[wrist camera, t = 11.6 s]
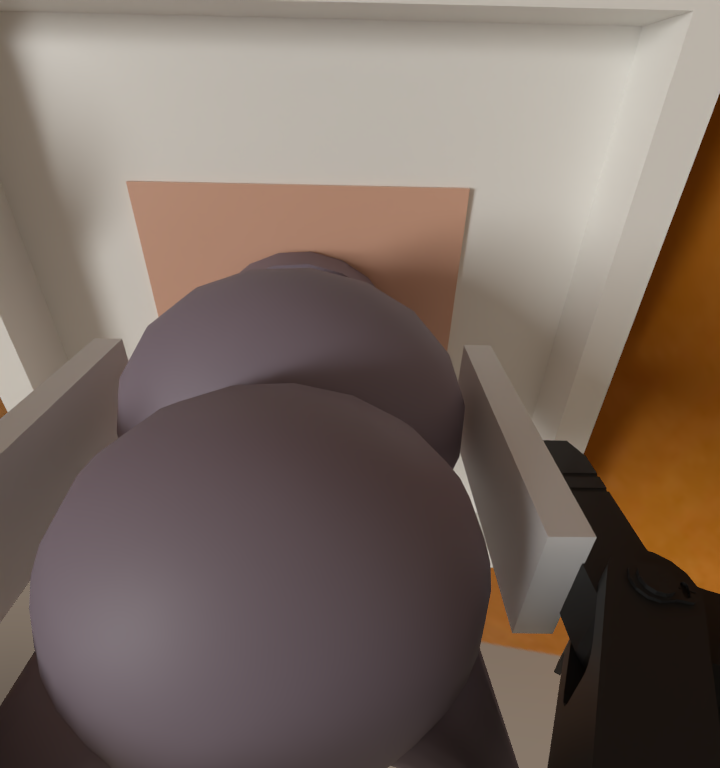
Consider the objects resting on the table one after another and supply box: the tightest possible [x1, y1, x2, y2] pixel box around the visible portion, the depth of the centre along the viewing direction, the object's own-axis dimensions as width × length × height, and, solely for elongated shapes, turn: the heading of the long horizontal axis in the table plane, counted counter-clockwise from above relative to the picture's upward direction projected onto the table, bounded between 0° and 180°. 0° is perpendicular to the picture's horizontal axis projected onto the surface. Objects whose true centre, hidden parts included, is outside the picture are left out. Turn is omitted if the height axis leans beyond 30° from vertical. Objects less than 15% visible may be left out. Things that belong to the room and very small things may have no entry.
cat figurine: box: [0, 252, 519, 768], centre depth 10 cm, size 8×8×12 cm
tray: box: [0, 0, 720, 567], centre depth 15 cm, size 20×20×3 cm
